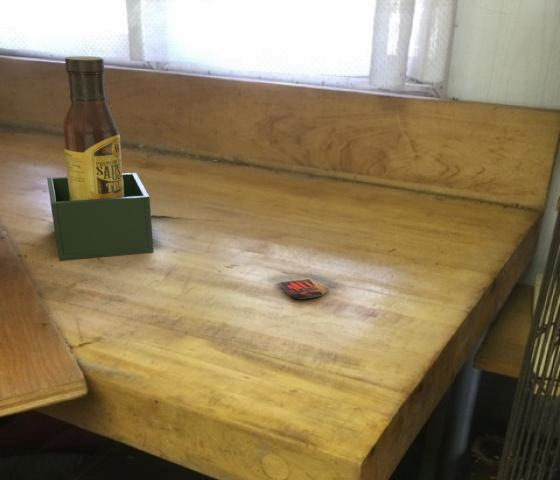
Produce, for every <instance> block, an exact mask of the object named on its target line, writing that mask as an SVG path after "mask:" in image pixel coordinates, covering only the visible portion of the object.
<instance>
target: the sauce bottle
mask: <svg viewBox="0 0 560 480" xmlns="http://www.w3.org/2000/svg"><path fill="white" fill-rule="evenodd" d="M64 62H65V63H64V64H65V65H64V66H65V71H66V73H67V76H68V84H69V93H70V94H69V98H70V105H69V107H68V110H67V111H66V115H65V116H64V120H63V124H62V130H63V139H64V147H63V148H64V157H65V167H66V177H68V186H69V195H70V201H74V200H89V199H104V198H119V197H124V186H123V174H124V173H123V162H122V153H121V152H122V148H121V136H120V135H121V134H120V132H119V130H118V127H117V125H116V122H115V119H114V117H113V114H112V112H111V109H110V107H109V104H108V102H107V99H106V98H107V96H106V91H105V80H104V74H105V70H106V69H105V61H104V58H103V57H100V56H92V55H91V56H90V55H89V56H86V55H85V56H84V55H83V56H82V55H81V56H79V55H78V56H67V57H65V58H64Z"/></svg>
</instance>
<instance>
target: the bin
mask: <svg viewBox="0 0 560 480" xmlns="http://www.w3.org/2000/svg"><path fill="white" fill-rule="evenodd" d="M122 174H123V186H124V197H119V198H104V199H89V200H74V201H70V195H69V186H68V177H67V176H59V177H58V176H57V177H56V176H55V177H47V178H46V180H47V181H46V182H47V188H48V193H49V202H50V208H51V214H52V222H53V228H54V235H55V243H56V249H57V256H58V257H57V258H58V261H71V260H81V259H92V258H93V259H94V258H105V257H113V256H114V257H115V256H125V255H126V256H127V255H136V254H137V255H138V254H148V253H154V242H153V241H154V240H153V226H152V225H153V224H152V212H151V211H152V210H151V200H150V199H151V198H150V196H149V194H148V191H147V190H146V188H145V186H144V185H143V183H142V181H141V179H140V177H139V176H138V174H137V172H127V173H122Z"/></svg>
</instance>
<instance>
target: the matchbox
mask: <svg viewBox="0 0 560 480" xmlns="http://www.w3.org/2000/svg"><path fill="white" fill-rule="evenodd" d="M275 286H280V287H281V288H282V289H283V290H284V291H285V292H284V293H285V294H286V295H287V294H288V295H289V296H290V297H292V298H293V299H295V300H303V299H304V300H305V299H312V298H318V297H321V296H324V295H325V293H327V292H329V288H328V287H327V286H324V285H322V284H320V283H317V284H316V282H314V281H313V279H312V278H311V277H307V278H298V279H292V278H290V279H289V280H285V281H284V280H283V281H278V283H276V284H275ZM307 301H310V300H307Z"/></svg>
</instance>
